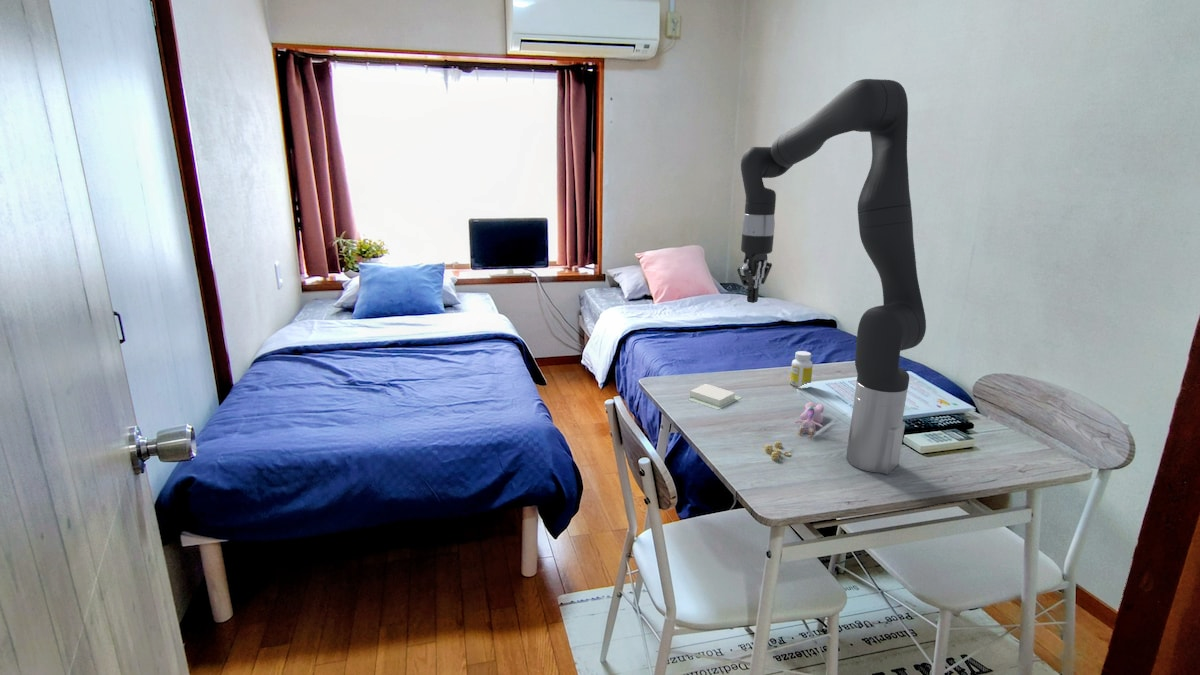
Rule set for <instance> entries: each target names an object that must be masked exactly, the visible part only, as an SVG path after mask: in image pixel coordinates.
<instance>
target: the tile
mask: <svg viewBox="0 0 1200 675" xmlns="http://www.w3.org/2000/svg"><path fill="white" fill-rule="evenodd" d="M735 395H736V392H734V391H731V390H727V389H724V388H720V387H718V386H715V385H712V384H708V383H704V384H702V385H699V386H698V387H695V388H692V389H691V390H689V397H690V398H696V399H699V400H702V401H705V402H708V403H711V404H714V405H717V406H721V405H723V404H725V403H727V402H729V401H731V400H733V399H735Z"/></svg>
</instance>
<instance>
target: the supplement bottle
mask: <svg viewBox="0 0 1200 675" xmlns="http://www.w3.org/2000/svg"><path fill="white" fill-rule="evenodd" d="M794 355H795V356H794V358H795V359H792V361H791V369H790V379H789V386H790V387H792V388H795V389H798V388H799V387H800V386H802V385H804V384H807V383H811V384H812V377H813V376H812V375H813V365H814V364H813V362H812V361H811V359H812V353H811V352H809V351H806V350H798V351H796V352H795V354H794ZM798 390H799V389H798Z"/></svg>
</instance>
